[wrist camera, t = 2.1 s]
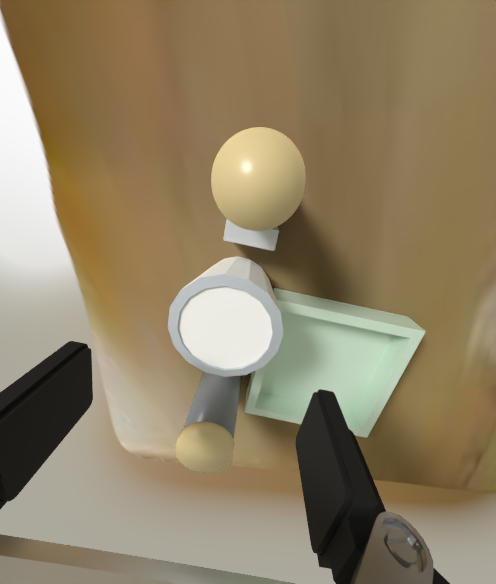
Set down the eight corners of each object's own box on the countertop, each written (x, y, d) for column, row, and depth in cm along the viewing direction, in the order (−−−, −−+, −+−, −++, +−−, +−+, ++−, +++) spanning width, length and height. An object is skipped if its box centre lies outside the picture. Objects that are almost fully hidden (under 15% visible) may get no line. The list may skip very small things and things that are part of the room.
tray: (407, 316, 21) (425, 331, 18) (357, 415, 25) (366, 437, 22) (273, 287, 20) (274, 299, 18) (246, 392, 25) (244, 412, 22)
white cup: (275, 326, 22) (279, 381, 15) (199, 322, 22) (171, 374, 16) (280, 250, 19) (289, 277, 13) (195, 247, 20) (160, 271, 13)
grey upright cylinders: (292, 167, 17) (318, 139, 9) (240, 383, 24) (227, 477, 16) (241, 155, 17) (219, 116, 9) (203, 375, 24) (172, 466, 16)
